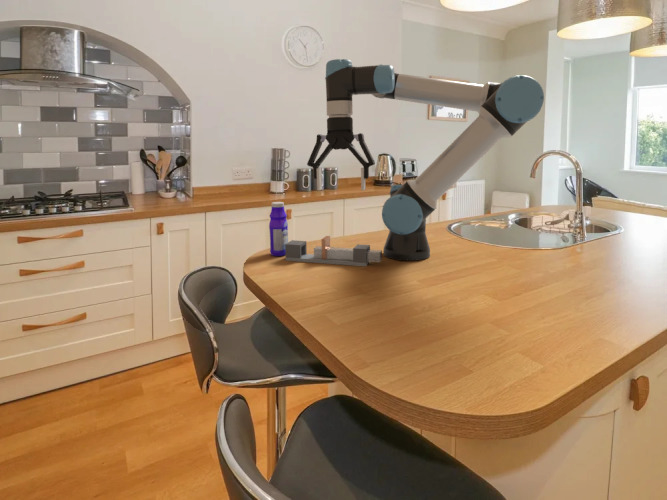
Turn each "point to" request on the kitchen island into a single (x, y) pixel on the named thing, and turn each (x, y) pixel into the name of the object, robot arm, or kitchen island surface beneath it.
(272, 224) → the bottle
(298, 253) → the rail
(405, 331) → the kitchen island surface
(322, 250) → the long square rod
